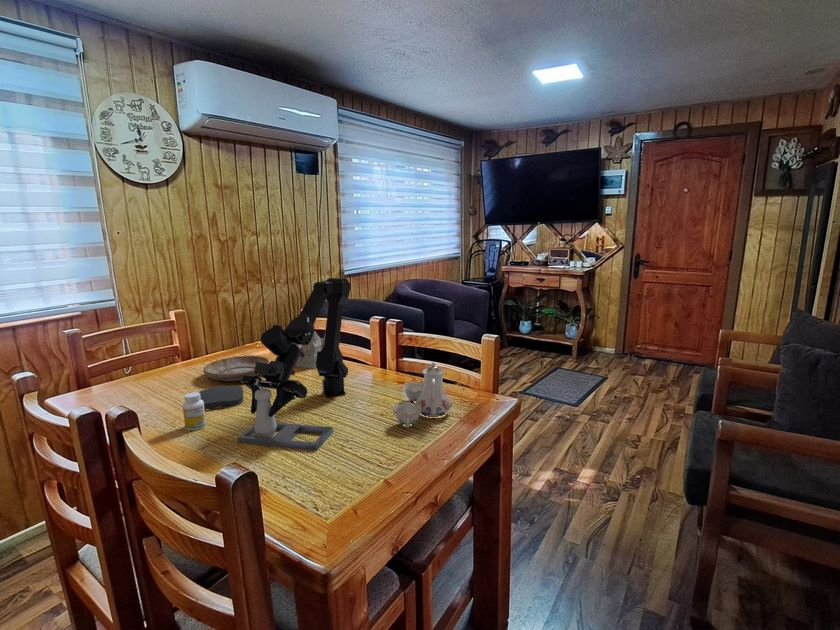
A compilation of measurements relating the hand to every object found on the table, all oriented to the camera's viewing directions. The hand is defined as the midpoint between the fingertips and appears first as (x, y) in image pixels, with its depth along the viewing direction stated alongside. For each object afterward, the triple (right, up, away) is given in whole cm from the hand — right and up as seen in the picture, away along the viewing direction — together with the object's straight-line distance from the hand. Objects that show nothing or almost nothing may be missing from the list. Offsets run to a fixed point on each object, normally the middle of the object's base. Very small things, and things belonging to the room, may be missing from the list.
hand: (260, 414), depth 120 cm
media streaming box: (-23, -2, +28) cm, 36 cm away
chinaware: (+44, -3, +17) cm, 47 cm away
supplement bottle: (-21, -5, +8) cm, 24 cm away
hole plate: (+6, -6, +1) cm, 9 cm away
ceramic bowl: (-27, +3, +52) cm, 59 cm away
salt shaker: (+1, -6, +3) cm, 7 cm away
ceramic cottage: (-1, +6, +68) cm, 68 cm away
